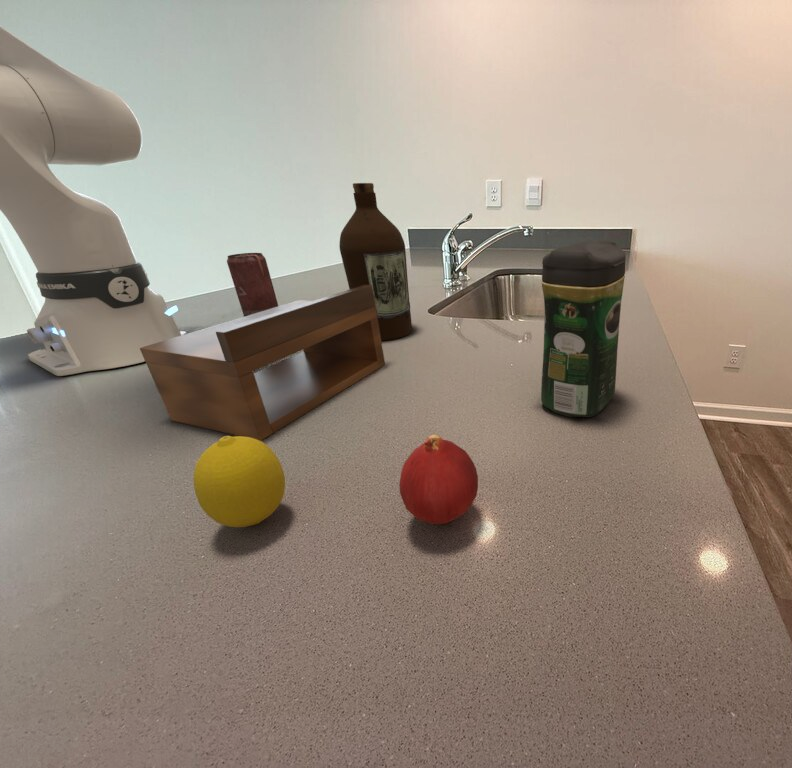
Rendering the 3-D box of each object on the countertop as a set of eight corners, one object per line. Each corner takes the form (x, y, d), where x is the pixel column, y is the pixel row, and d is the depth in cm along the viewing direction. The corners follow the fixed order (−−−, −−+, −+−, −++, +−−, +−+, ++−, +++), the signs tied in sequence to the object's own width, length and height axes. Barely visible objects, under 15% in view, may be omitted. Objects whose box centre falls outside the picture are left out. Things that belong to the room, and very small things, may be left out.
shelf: (171, 420, 47) (127, 320, 42) (312, 354, 66) (294, 280, 61) (260, 441, 43) (224, 332, 38) (385, 364, 62) (372, 284, 56)
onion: (412, 497, 35) (399, 416, 31) (479, 492, 35) (474, 411, 32) (401, 552, 29) (384, 461, 26) (481, 545, 30) (474, 455, 26)
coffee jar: (564, 379, 55) (569, 235, 47) (621, 392, 52) (637, 238, 44) (529, 410, 48) (529, 245, 40) (593, 427, 44) (607, 249, 36)
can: (269, 333, 77) (247, 256, 71) (241, 332, 78) (216, 256, 72) (291, 324, 82) (272, 251, 76) (264, 322, 83) (243, 251, 77)
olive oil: (346, 333, 76) (316, 184, 65) (397, 321, 82) (377, 184, 72) (373, 346, 69) (344, 182, 58) (426, 332, 75) (409, 182, 65)
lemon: (239, 562, 29) (200, 470, 25) (202, 531, 31) (162, 445, 28) (310, 513, 33) (284, 430, 30) (271, 490, 36) (244, 411, 32)
